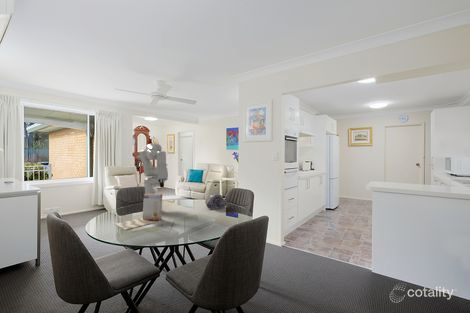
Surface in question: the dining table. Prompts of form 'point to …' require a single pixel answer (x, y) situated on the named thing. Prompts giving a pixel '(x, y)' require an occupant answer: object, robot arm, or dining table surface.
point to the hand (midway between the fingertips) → (161, 187)
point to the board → (133, 223)
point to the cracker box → (152, 207)
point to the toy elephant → (215, 201)
